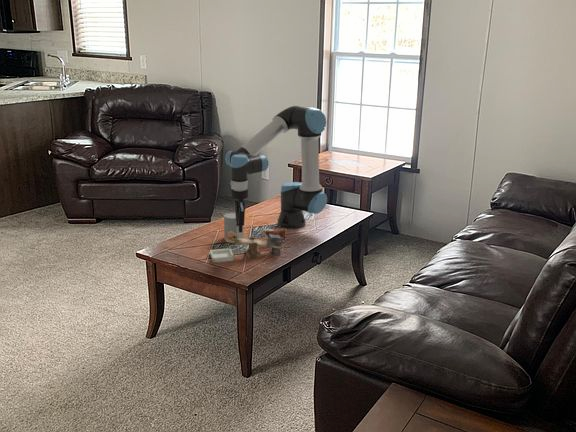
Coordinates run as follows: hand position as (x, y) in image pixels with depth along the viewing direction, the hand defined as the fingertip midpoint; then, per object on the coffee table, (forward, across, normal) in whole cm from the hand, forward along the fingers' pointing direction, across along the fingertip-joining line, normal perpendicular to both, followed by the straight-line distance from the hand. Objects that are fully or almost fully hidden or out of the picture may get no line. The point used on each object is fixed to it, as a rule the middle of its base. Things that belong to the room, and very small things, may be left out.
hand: (240, 237), depth 271 cm
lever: (+3, 0, +6) cm, 7 cm away
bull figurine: (+9, -12, +19) cm, 24 cm away
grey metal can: (+9, -23, +1) cm, 25 cm away
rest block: (+9, 0, +17) cm, 19 cm away
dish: (+9, 0, -9) cm, 12 cm away
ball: (-2, 0, -4) cm, 5 cm away
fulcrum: (+9, 0, +6) cm, 11 cm away
